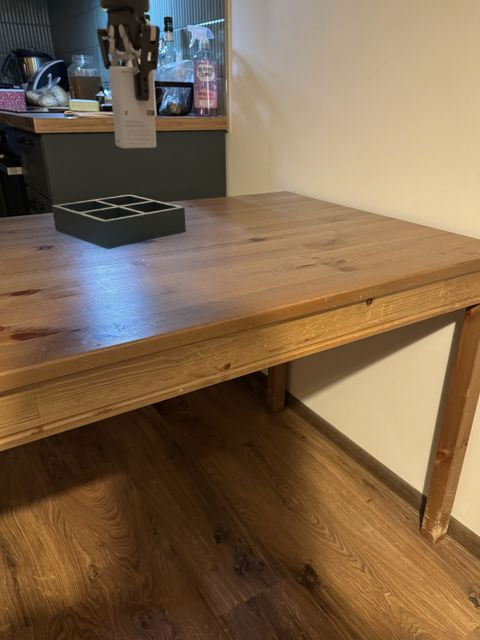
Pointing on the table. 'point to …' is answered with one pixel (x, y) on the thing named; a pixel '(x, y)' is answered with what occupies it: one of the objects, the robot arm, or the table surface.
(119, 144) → the cosmetic box
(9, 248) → the table surface
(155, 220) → the grid
